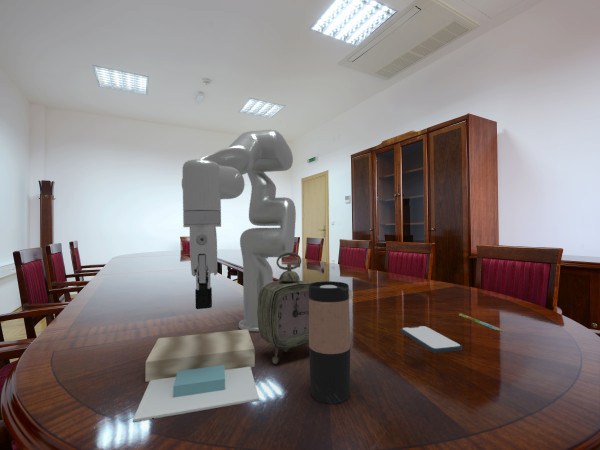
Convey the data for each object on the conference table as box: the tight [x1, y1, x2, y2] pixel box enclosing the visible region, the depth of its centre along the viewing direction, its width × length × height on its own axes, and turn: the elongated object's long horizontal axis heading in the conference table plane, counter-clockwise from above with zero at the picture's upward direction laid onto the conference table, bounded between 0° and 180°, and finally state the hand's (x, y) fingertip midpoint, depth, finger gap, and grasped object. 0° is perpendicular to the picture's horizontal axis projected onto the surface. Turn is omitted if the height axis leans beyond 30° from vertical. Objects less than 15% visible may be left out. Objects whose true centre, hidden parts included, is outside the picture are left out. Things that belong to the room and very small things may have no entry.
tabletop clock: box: [257, 252, 312, 365], centre depth 72 cm, size 14×9×25 cm, turn 122°
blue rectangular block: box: [173, 365, 225, 397], centre depth 56 cm, size 9×6×2 cm, turn 106°
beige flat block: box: [145, 329, 256, 383], centre depth 69 cm, size 22×14×4 cm, turn 106°
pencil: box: [458, 313, 505, 333], centre depth 94 cm, size 1×1×18 cm
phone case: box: [400, 325, 463, 354], centre depth 80 cm, size 9×2×16 cm
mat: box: [132, 367, 260, 423], centre depth 55 cm, size 20×13×1 cm, turn 106°
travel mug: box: [308, 280, 351, 405], centre depth 54 cm, size 8×8×20 cm
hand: (203, 307), depth 61 cm, fingers closed
